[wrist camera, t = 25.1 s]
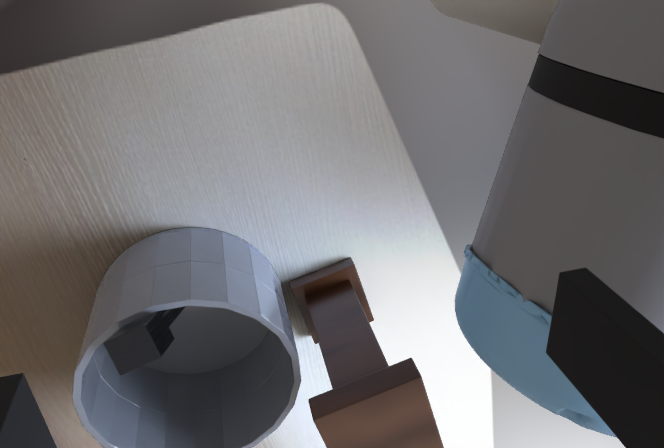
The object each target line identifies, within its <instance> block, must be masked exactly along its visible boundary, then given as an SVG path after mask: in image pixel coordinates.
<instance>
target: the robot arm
mask: <svg viewBox="0 0 664 448" xmlns="http://www.w3.org/2000/svg"><path fill="white" fill-rule="evenodd" d="M538 53H539V55H538V58H537V61H536V64H535V67H534V70H533V72H532V75H531V78H530V81H529V83H528V85H527V88H526V91H525V93H524V96H523V99H522V102H521V105H520V108H519V111H518V113H517V116H516V119H515V122H514V125H513V128H512V131H511V134H510V137H509V139H508V143H507V145H506V148H505V151H504V154H503V157H502V160H501V162H500V165H499V169H498V171H497V174H496V177H495V180H494V183H493V186H492V189H491V191H490V194H489V197H488V200H487V203H486V206H485V209H484V212H483V214H482V217H481V220H480V223H479V226H478V229H477V232H476V235H475V238H474V241H473V243H472V245H467V246H466V248H465V251H464V256H465V258H466V259H465V263H464V267H463V270H462V274H461V278H460V282H459V285H458V288H457V292H456V295H455V296H456V297H455V312H456V317H457V321H458V324H459V326H460V328H461V331H462V333H463V334H464V336H465V338H466V340H467V341H468V343H469V344H470V345H471V347H472V348H473V349H474V351H475V352H476V353H477V354H478V356H479V357H480V358H481V359H482V360H483V361H484V362H485V363H486V364H487V365H488V366H489V367H490V368H491V369H492V370H493V371H494V372H495V373H496V374H497V375H499V376H500V377H501V378H502V379H503V380H504V381H506V382H507V383H508V384H510V385H511V386H512V387H513V388H515V389H516V390H517V391H519V392H520V393H522V394H523V395H524V396H526V397H527V398H529V399H531V400H532V401H534V402H535V403H537V404H539V405H540V406H542V407H544V408H546V409H547V410H549V411H551V412H553V413H555V414H558V415H560V416H563V417H565V418H567V419H569V420H571V421H573V422H574V423H576V424H578V425H580V426H582V427H585V428H587V429H591V430H594V431H597V432H600V433H603V434H606V435H609V436H613V437H617V438H618V439H619V440H620V441H621V442H622V444H623V445H624V446H625V447H626V448H664V0H561V1H560V2H559V4H558V6H557V7H556V9H555V11H554V13H553V14H552V16H551V19H550V21H549V23H548V26H547V28H546V31H545V34H544V37H543V39H542V42H541V46H540V48H539V51H538ZM0 448H57V447H56V445H55V443H54V440H53V438H52V436H51V434H50V432H49V429H48V427H47V425H46V423H45V420H44V418H43V416H42V414H41V412H40V409H39V407H38V405H37V403H36V401H35V398H34V396H33V394H32V392H31V389H30V387H29V385H28V383H27V381H26V378H25V376H24V374H23V373H21V374H15V375H10V376H5V377H0Z"/></svg>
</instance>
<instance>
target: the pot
mask: <svg viewBox="0 0 664 448" xmlns="http://www.w3.org/2000/svg"><path fill="white" fill-rule="evenodd" d="M184 306H186V307H185V308H184V310H183V311H182V312H181V313H180V314H179V316H178V317H177V318H176V319H175V320H174V322H173V323H172V324H171V325H170V327H169V328H170V330H171V332H172V334H173V336H174V338H175V339H174V341H173V342H172V343H171V345H170V346H169V347H168V349H167V350H166V351H165V353H164V354H163V355H162V357H161V358H159V359H156V360H154V361H152V362H150V363H148V364H145V365H143V366H141V367H139V368H136V369H134V370H132V371H130V372H128V373H125V374H123V375H119V373H118V371H117V369H116V367H115V365H114V363H113V361H112V359H111V357H110V355H109V354H108V352H107V350H106V348H105V346H104V342H106V341H107V340H108V339H109V338H110V337H111V336H112V335H113V334H115V333H116V332H117V331H118V330H119V329H120V328H121V327H122V326H124V325H126V324H128V323H131V322H133V321H135V320H137V319H140V318H142V317H144V316H146V315H148V314H151V313H153V312H156V311H162V310H168V309H173V308H179V307H184ZM300 383H301V375H300V366H299V358H298V353H297V349H296V345H295V341H294V337H293V333H292V329H291V325H290V320H289V316H288V312H287V308H286V304H285V300H284V296H283V292H282V288H281V284H280V281H279V279H278V278H277V275H276V272H275V271H274V269H273V267H272V266H271V264H270V263H269V261H268V260H267V259H266V258H265V256H264V255H263V254H262V253H261V252H259V251H258V250H257V249H256V248H255V247H253V246H252V245H251V244H249V243H248V242H246V241H244V240H242V239H240V238H238V237H236V236H234V235H231V234H228V233H226V232H222V231H218V230H214V229H206V228H179V229H172V230H168V231H163V232H160V233H157V234H154V235H151V236H149V237H147V238H145V239H142V240H140V241H138V242H137V243H135V244H134V245H132V246H131V247H129V248H128V249H126V250H125V251H124V252H123V253H122V254H120V255H119V256H118V257H117V259H116V260H115V261H114V262H113V263H112V264H111V266H110V267H109V269H108V270H107V272H106V273H105V275H104V277H103V279H102V282H101V284H100V286H99V288H98V290H97V293H96V297H95V300H94V304H93V308H92V311H91V315H90V318H89V322H88V325H87V329H86V333H85V336H84V340H83V343H82V347H81V350H80V354H79V357H78V361H77V365H76V368H75V372H74V381H73V397H72V401H73V404H74V406H75V409H76V411H77V414H78V416H79V419H80V421H81V424H82V426H83V427H84V428H85V429H86V430H87V431H88V432H89V433H90V434H91V435H92V436H93V437H94V438H95V439H96V440H97V441H98V442H99V443H100V444H101V445H102V446H103V447H105V448H252V447H254V446H256V445H257V444H258V443H259V442H261V441H262V440H263V439H265V438H266V437H267V436H268V435H270V434H271V433H272V432H273V431H275V430H276V429H277V428H278V427H279V426H280V424H281V423H282V422H283V420H284V419H285V417H286V416H287V415H288V413H289V412H290V410H291V409H292V408H293V406H294V404H295V400H296V397H297V393H298V390H299V387H300Z"/></svg>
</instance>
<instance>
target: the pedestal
mask: <svg viewBox="0 0 664 448" xmlns="http://www.w3.org/2000/svg"><path fill="white" fill-rule="evenodd" d="M289 284H290V288H291V291H292V293H293V295H294V297H295V300H296V302H297V304H298V307H299V309H300V311H301V313H302V316H303V318H304V320H305V322H306V325H307V327H308V329H309V331H310V334H311V336H312V338H313V340H314V343H315V344H317V343H319V345H320V348H321V352H322V355H323V358H324V362H325V365H326V368H327V371H328V375H329V378H330V381H331V385H332V388H333V389H332V390H330V391H327V392H325V393H323V394H320V395H318V396H315V397H313V398H310V399H309V405H310V409H311V413H312V417H313V421H314V423H315V425H316V427H317V429H318V431H319V433H320V435H321V437H322V439H323V441H324V443H325V445H326V447H327V448H444V447H443V444H442V441H441V437H440V434H439V431H438V428H437V425H436V422H435V418H434V415H433V412H432V409H431V406H430V403H429V399H428V396H427V393H426V390H425V387H424V383H423V380H422V377H421V375H420V373H419V371H418V369H417V367H416V365H415V363H414V361H413V359H412V358H409V359H406V360H404V361H402V362H399V363H397V364H394V365H392V366H388V364H387V361H386V359H385V357H384V355H383V352H382V350H381V348H380V346H379V344H378V341H377V339H376V337H375V335H374V332H373V330H372V328H371V326H370V324H369V322H372V321H374V318H373V316H372V313H371V310H370V307H369V304H368V301H367V299H366V296H365V293H364V290H363V287H362V285H361V282H360V279H359V276H358V273H357V270H356V268H355V265H354V263H353V261H352V259H351V258H348V259H346V260H343V261H341V262H338V263H336V264H333V265H331V266H328V267H326V268H323V269H321V270H318V271H316V272H313V273H310V274H308V275H305V276H303V277H300V278H298V279H295V280H293V281H290V282H289Z"/></svg>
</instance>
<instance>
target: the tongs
mask: <svg viewBox="0 0 664 448" xmlns="http://www.w3.org/2000/svg"><path fill="white" fill-rule="evenodd" d="M185 307H186V306H184V307H179V308H173V309H168V310H162V311H156V312H153V313H151V314H148V315H146V316H144V317H142V318H140V319H137V320H135V321H133V322H131V323H128V324H126V325H124V326H122V327H121V328H120V329H119V330H118V331H117V332H116V333H115V334H113V335H112V336H111V337H110V338H109V339H108V340H107V341H106V342H104V346H105V348H106V350H107V352H108V354H109V355H110V357H111V359H112V361H113V363H114V365H115V367H116V369H117V371H118V373H119V375H123V374H125V373H128V372H130V371H132V370H134V369H136V368H139V367H141V366H143V365H145V364H148V363H150V362H152V361H154V360H156V359H159V358H161V357H162V355H163V354H164V353H165V351H166V350H167V349H168V347H169V346H170V345H171V343H172V342H173V341H174V339H175V338H174V336H173V334H172V332H171V330H170V328H169V327H170V325H171V324H172V323H173V322H174V320H175V319H176V318H177V317H178V316H179V314H180V313H181V312H182V311H183V310H184V308H185Z"/></svg>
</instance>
